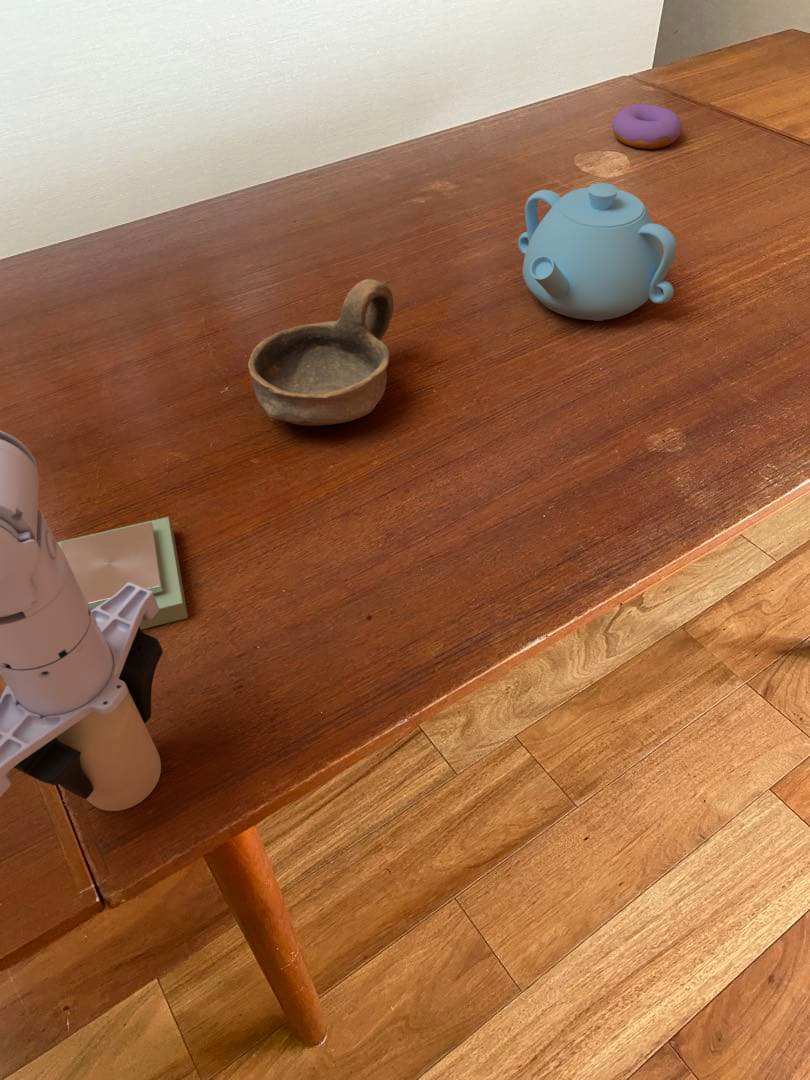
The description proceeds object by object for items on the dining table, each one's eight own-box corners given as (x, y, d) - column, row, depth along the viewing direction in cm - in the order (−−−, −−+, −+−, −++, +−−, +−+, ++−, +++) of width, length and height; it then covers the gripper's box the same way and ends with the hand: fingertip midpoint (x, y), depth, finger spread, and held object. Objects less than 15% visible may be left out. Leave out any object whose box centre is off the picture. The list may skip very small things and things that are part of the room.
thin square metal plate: (67, 615, 67) (64, 609, 66) (63, 547, 72) (61, 542, 71) (163, 591, 68) (161, 586, 68) (153, 527, 73) (151, 521, 72)
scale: (60, 650, 67) (50, 633, 66) (56, 559, 74) (48, 542, 72) (188, 618, 69) (182, 601, 68) (173, 532, 76) (167, 514, 74)
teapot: (698, 293, 99) (725, 185, 90) (608, 378, 89) (628, 266, 79) (552, 242, 108) (562, 139, 98) (455, 314, 98) (456, 207, 88)
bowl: (226, 413, 87) (206, 328, 79) (345, 334, 96) (337, 251, 88) (324, 471, 81) (312, 384, 73) (442, 381, 89) (442, 295, 82)
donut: (597, 139, 127) (605, 103, 124) (626, 132, 133) (635, 97, 130) (658, 156, 122) (668, 119, 119) (686, 148, 128) (696, 113, 125)
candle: (68, 771, 60) (16, 692, 53) (138, 725, 63) (98, 644, 55) (104, 828, 57) (54, 753, 50) (176, 778, 60) (139, 699, 52)
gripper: (-3, 764, 42) (82, 874, 52) (176, 559, 51) (219, 688, 61) (-107, 710, 44) (-6, 826, 54) (82, 524, 53) (139, 653, 63)
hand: (108, 751), depth 58 cm, fingers closed on candle, 5 cm apart
